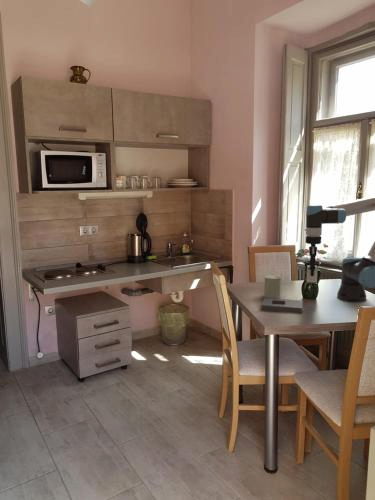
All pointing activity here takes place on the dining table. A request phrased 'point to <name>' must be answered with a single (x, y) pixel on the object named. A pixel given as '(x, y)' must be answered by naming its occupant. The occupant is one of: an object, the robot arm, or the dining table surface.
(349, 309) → the dining table surface
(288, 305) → the socket
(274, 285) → the can
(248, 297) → the dining table surface
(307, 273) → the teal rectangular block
